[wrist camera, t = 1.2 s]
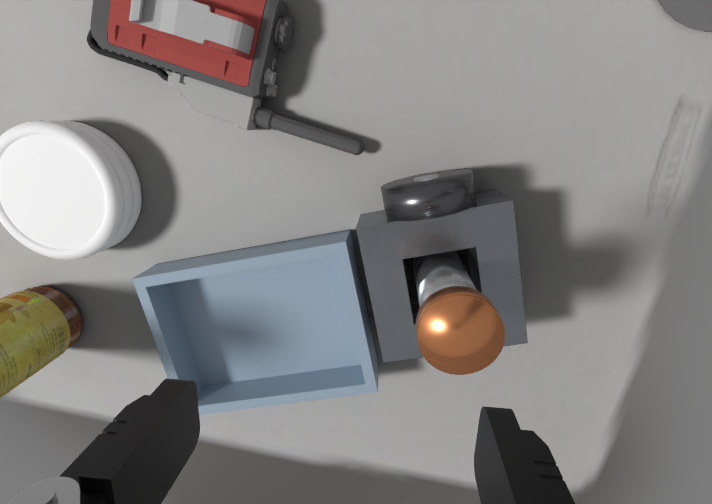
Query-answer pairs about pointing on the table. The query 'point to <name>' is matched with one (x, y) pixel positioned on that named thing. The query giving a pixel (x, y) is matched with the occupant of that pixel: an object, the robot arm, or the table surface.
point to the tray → (264, 323)
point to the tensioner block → (437, 235)
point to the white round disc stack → (66, 188)
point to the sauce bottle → (34, 332)
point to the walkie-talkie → (209, 55)
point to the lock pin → (454, 317)
